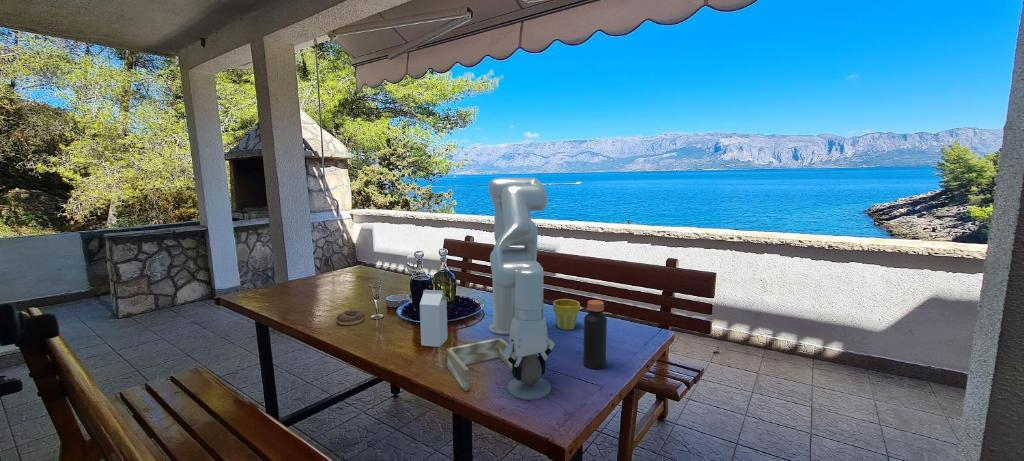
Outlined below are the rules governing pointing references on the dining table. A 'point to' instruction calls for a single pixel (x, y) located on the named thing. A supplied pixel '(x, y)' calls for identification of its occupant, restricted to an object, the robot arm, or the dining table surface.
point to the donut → (350, 317)
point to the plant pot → (566, 313)
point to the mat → (529, 389)
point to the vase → (530, 369)
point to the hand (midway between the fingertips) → (529, 374)
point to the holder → (473, 357)
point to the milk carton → (433, 318)
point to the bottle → (595, 335)
